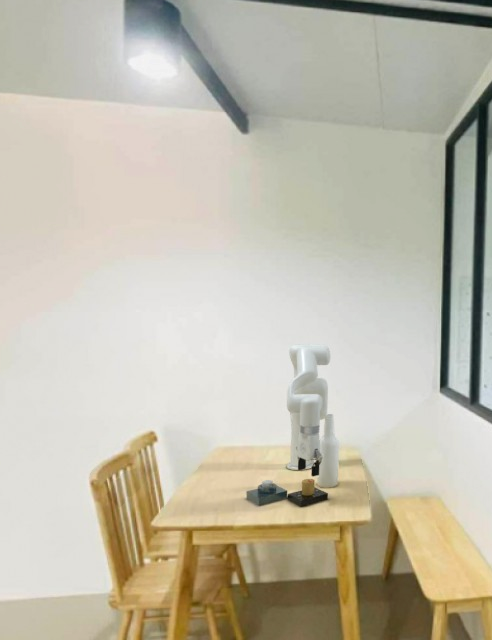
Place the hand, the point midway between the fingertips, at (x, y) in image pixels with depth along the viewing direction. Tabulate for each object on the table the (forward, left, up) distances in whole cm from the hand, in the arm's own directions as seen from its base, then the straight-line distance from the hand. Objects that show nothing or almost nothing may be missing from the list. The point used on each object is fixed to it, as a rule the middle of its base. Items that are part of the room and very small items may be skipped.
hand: (308, 472), depth 199 cm
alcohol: (-16, -10, -11) cm, 21 cm away
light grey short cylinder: (+11, -11, -6) cm, 17 cm away
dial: (0, +1, -8) cm, 8 cm away
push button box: (+11, -11, -11) cm, 19 cm away
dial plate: (0, +1, -11) cm, 11 cm away
